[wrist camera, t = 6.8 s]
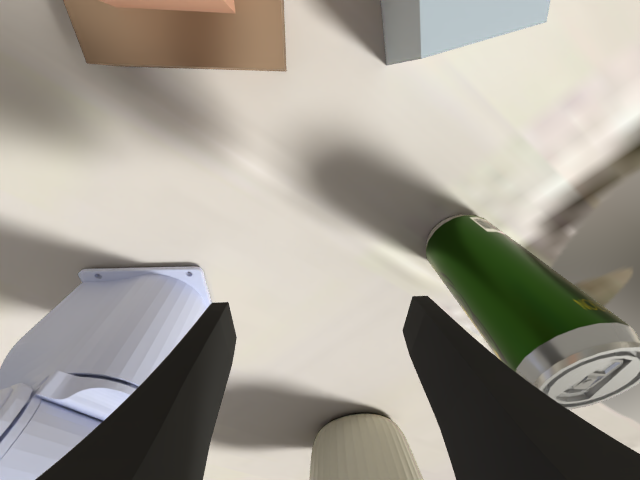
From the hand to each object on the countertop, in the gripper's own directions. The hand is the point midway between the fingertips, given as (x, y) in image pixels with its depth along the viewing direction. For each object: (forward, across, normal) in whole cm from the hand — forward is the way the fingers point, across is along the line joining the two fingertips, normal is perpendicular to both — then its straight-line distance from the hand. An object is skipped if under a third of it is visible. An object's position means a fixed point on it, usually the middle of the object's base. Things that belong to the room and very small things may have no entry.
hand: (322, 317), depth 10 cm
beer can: (+11, -12, +3) cm, 16 cm away
